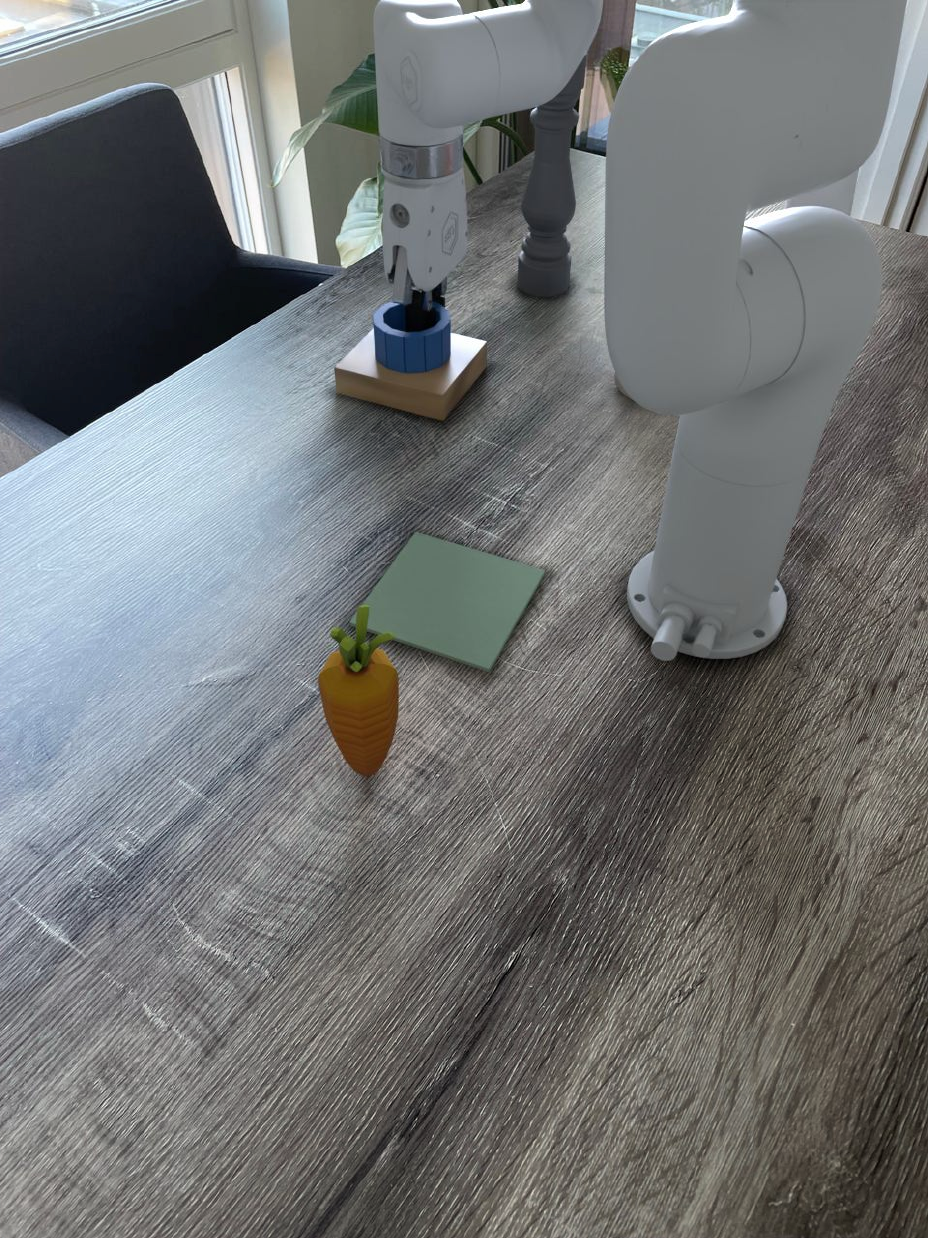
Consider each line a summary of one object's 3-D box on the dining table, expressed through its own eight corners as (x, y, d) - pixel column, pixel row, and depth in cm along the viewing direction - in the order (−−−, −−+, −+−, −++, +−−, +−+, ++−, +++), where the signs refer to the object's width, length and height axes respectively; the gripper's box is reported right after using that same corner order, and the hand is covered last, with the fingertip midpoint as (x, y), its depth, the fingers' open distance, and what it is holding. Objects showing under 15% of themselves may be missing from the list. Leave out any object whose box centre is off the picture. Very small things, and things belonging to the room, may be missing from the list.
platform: (443, 421, 98) (442, 395, 96) (336, 393, 102) (333, 367, 100) (486, 366, 106) (487, 341, 103) (385, 341, 109) (384, 316, 107)
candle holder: (508, 277, 119) (517, 45, 101) (553, 267, 121) (570, 38, 103) (532, 301, 115) (546, 64, 98) (579, 290, 117) (601, 55, 99)
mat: (489, 672, 75) (489, 669, 75) (349, 625, 79) (348, 622, 78) (545, 573, 83) (545, 570, 83) (415, 534, 86) (415, 531, 86)
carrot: (366, 733, 71) (351, 581, 61) (418, 770, 69) (412, 618, 58) (316, 777, 69) (291, 626, 58) (369, 817, 66) (353, 667, 56)
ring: (430, 380, 98) (429, 343, 95) (362, 362, 100) (359, 326, 97) (462, 343, 103) (462, 307, 100) (396, 327, 105) (394, 292, 102)
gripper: (421, 192, 84) (426, 381, 97) (493, 129, 94) (488, 309, 107) (343, 176, 86) (358, 364, 99) (421, 117, 96) (425, 295, 109)
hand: (425, 334), depth 103 cm, fingers closed on ring, 1 cm apart
